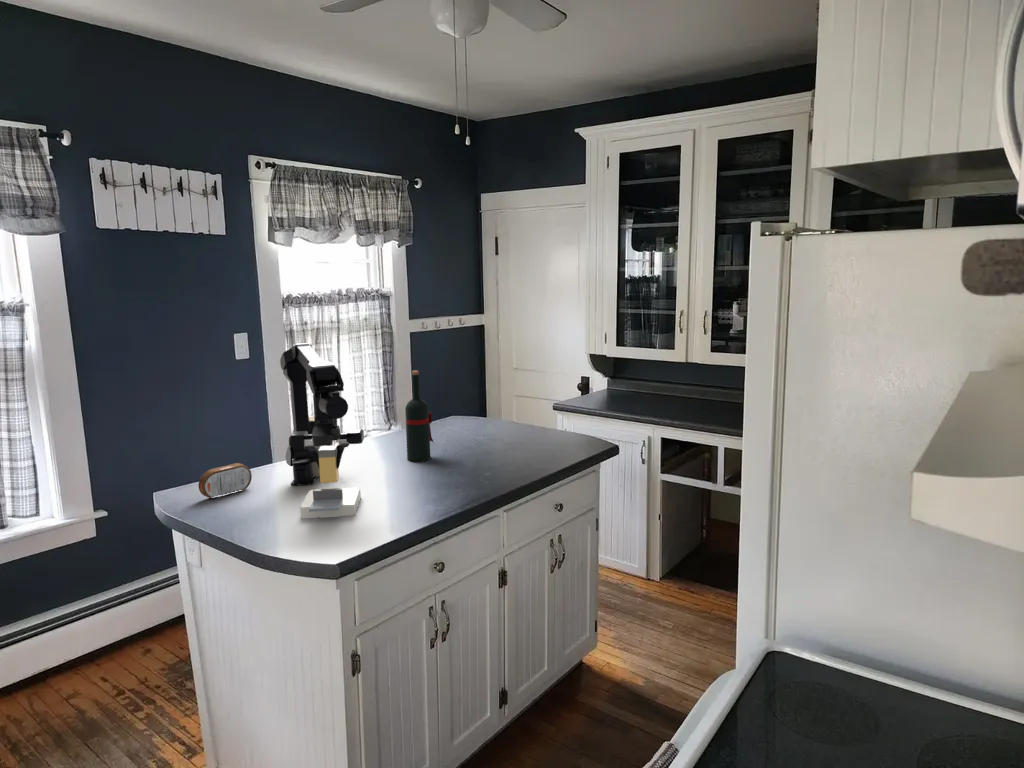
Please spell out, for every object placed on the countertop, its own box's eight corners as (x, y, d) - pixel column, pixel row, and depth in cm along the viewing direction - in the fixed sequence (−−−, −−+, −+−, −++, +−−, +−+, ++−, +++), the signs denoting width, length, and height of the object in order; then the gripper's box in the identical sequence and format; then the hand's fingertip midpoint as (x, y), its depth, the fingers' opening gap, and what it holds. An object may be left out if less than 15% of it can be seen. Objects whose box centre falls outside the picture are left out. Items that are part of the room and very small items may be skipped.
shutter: (314, 501, 178) (313, 489, 178) (343, 500, 179) (342, 488, 178) (309, 511, 171) (308, 499, 170) (339, 510, 172) (338, 497, 171)
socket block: (310, 500, 189) (309, 490, 189) (360, 497, 190) (360, 487, 190) (300, 518, 176) (299, 507, 175) (354, 515, 177) (354, 504, 176)
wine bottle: (440, 456, 230) (437, 369, 224) (417, 463, 222) (413, 373, 217) (425, 452, 235) (421, 367, 229) (402, 459, 227) (398, 371, 222)
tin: (248, 486, 202) (246, 459, 201) (254, 488, 200) (252, 461, 199) (199, 500, 191) (196, 472, 189) (204, 503, 189) (201, 474, 187)
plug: (323, 478, 183) (321, 446, 182) (339, 477, 184) (336, 445, 182) (320, 483, 179) (318, 450, 178) (336, 482, 180) (334, 449, 178)
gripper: (282, 420, 170) (286, 479, 172) (357, 417, 171) (361, 476, 174) (291, 410, 180) (295, 466, 183) (362, 408, 182) (365, 463, 185)
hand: (329, 468), depth 181 cm, fingers closed on plug, 4 cm apart
